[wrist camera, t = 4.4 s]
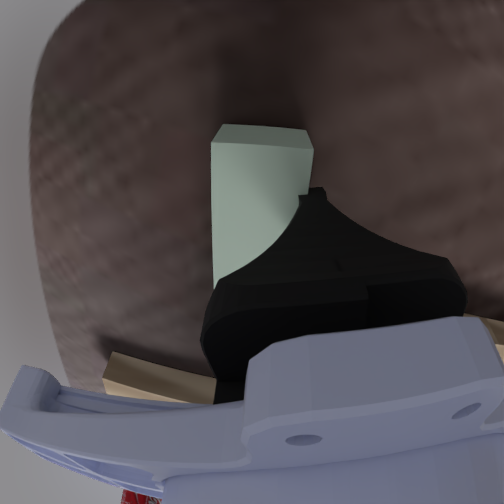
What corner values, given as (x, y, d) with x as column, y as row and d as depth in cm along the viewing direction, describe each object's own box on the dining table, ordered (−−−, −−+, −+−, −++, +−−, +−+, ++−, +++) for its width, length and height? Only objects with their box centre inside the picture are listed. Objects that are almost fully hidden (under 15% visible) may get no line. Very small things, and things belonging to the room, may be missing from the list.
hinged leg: (279, 312, 16) (279, 359, 14) (223, 307, 16) (215, 353, 14) (305, 129, 11) (316, 155, 8) (223, 123, 11) (207, 147, 8)
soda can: (176, 471, 44) (167, 528, 34) (150, 469, 46) (140, 522, 37) (148, 459, 40) (135, 521, 31) (122, 457, 43) (110, 513, 33)
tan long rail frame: (451, 412, 26) (455, 430, 24) (116, 370, 22) (107, 395, 20) (541, 330, 17) (552, 350, 15) (100, 225, 14) (77, 255, 12)
